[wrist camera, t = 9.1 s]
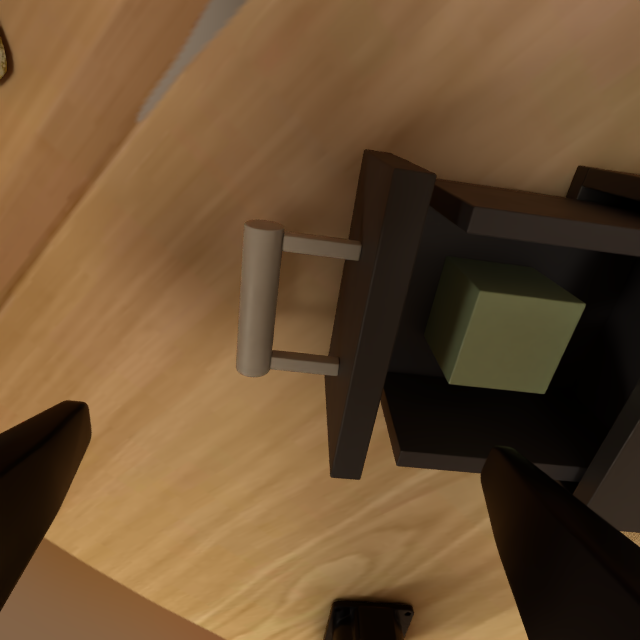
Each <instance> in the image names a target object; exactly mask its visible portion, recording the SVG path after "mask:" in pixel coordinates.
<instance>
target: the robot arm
mask: <svg viewBox="0 0 640 640" xmlns="http://www.w3.org/2000/svg"><path fill="white" fill-rule="evenodd" d="M91 433H92V432H91V423H90V414H89V408H88V405H87V404H86V403H85V402H80V401H71V400H66V401H63V402H61V403H59V404H57V405H55V406H53V407H51V408H49V409H47V410H45V411H43V412H42V413H40V414H38V415H36V416H34V417H32V418H30V419H28V420H26V421H24V422H22V423H20V424H18V425H16V426H14V427H12V428H10V429H9V430H7V431H5V432H3V433H1V434H0V611H1V609H2V608H3V606H4V604H5V603H6V601H7V599H8V597H9V596H10V594H11V592H12V591H13V589H14V587H15V585H16V584H17V582H18V580H19V579H20V577H21V575H22V573H23V572H24V570H25V568H26V567H27V565H28V563H29V561H30V560H31V558H32V556H33V555H34V553H35V551H36V549H37V548H38V546H39V544H40V543H41V541H42V539H43V537H44V536H45V534H46V532H47V531H48V529H49V527H50V525H51V524H52V522H53V520H54V518H55V517H56V515H57V513H58V511H59V509H60V507H61V505H62V503H63V501H64V499H65V496H66V494H67V492H68V490H69V487H70V485H71V483H72V481H73V479H74V476H75V474H76V472H77V470H78V467H79V465H80V463H81V461H82V459H83V456H84V454H85V452H86V450H87V447H88V445H89V443H90V440H91ZM481 484H482V488H483V492H484V497H485V501H486V505H487V509H488V513H489V518H490V522H491V526H492V530H493V534H494V538H495V542H496V545H497V549H498V552H499V555H500V558H501V561H502V564H503V567H504V570H505V573H506V575H507V578H508V581H509V584H510V587H511V590H512V593H513V596H514V599H515V601H516V604H517V607H518V610H519V613H520V616H521V619H522V622H523V624H524V627H525V630H526V633H527V636H528V639H529V640H640V547H639V546H638V545H636V544H635V543H634V542H632V541H631V540H630V539H629V538H627V537H626V536H625V535H624V534H622V533H621V532H620V531H618V530H617V529H616V528H615V527H613V526H612V525H611V524H610V523H608V522H607V521H606V520H604V519H603V518H602V517H601V516H599V515H598V514H597V513H596V512H594V511H593V510H592V509H590V508H589V507H588V506H587V505H585V504H584V503H583V502H581V501H580V500H579V499H578V498H576V497H575V496H574V495H573V494H571V493H570V492H569V491H567V490H566V489H565V488H564V487H562V486H561V485H560V484H559V483H557V482H556V481H555V480H553V479H552V478H551V477H550V476H548V475H547V474H546V473H545V472H543V471H542V470H541V469H539V468H538V467H537V466H536V465H534V464H533V463H532V462H530V461H529V460H528V459H527V458H525V457H524V456H523V455H522V454H520V453H519V452H518V451H516V450H515V449H514V448H512V447H507V446H494V447H493V448H492V449H491V450H490V453H489V455H488V457H487V459H486V461H485V464H484V466H483V468H482V471H481ZM413 615H414V611H413V607H412V606H410V605H400V604H383V603H366V602H350V601H335V602H334V603H333V604H332V607H331V611H330V615H329V619H328V623H327V626H326V630H325V634H324V638H323V640H404V637H405V634H406V632H407V630H408V627H409V625H410V622H411V620H412V617H413Z"/></svg>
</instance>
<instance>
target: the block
mask: <svg viewBox="0 0 640 640" xmlns="http://www.w3.org/2000/svg"><path fill="white" fill-rule="evenodd" d="M585 307H586V304H585V303H584V302H582V301H581V300H579V299H578V298H576V297H575V296H574V295H572V294H571V293H569V292H568V291H566V290H565V289H563V288H562V287H560V286H559V285H557V284H556V283H555V282H553V281H552V280H550V279H549V278H547V277H546V276H544V275H543V274H541V273H540V272H538V271H537V270H535V269H534V268H532V267H525V266H518V265H510V264H503V263H495V262H487V261H480V260H472V259H465V258H457V257H450V256H447V257H446V259H445V263H444V266H443V270H442V273H441V277H440V280H439V284H438V287H437V291H436V294H435V298H434V301H433V305H432V308H431V312H430V315H429V319H428V322H427V326H426V329H425V333H424V337H425V339H426V341H427V343H428V345H429V347H430V349H431V351H432V352H433V354H434V356H435V358H436V360H437V362H438V364H439V366H440V368H441V370H442V372H443V374H444V376H445V378H446V380H447V381H448V383H449V384H454V385H463V386H472V387H482V388H491V389H501V390H510V391H520V392H529V393H538V394H545V392H546V390H547V388H548V386H549V384H550V381H551V379H552V377H553V375H554V373H555V371H556V369H557V366H558V364H559V362H560V360H561V358H562V356H563V354H564V351H565V349H566V347H567V345H568V343H569V341H570V339H571V337H572V334H573V332H574V330H575V328H576V326H577V324H578V322H579V319H580V317H581V315H582V313H583V311H584V309H585Z"/></svg>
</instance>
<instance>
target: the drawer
mask: <svg viewBox="0 0 640 640" xmlns="http://www.w3.org/2000/svg"><path fill="white" fill-rule="evenodd" d="M282 251H285V252H293V253H301V254H309V255H317V256H324V257H332V258H340V259H345V263H344V269H343V275H342V280H341V286H340V292H339V298H338V303H337V309H336V315H335V321H334V327H333V332H332V338H331V344H330V350H329V355H328V356H323V355H313V354H304V353H295V352H286V351H277V350H273V351H272V345H273V335H274V325H275V315H276V306H277V296H278V286H279V276H280V266H281V256H282ZM447 256H450V257H457V258H465V259H472V260H480V261H487V262H495V263H503V264H510V265H518V266H525V267H532V268H534V269H535V270H537V271H538V272H540V273H541V274H543V275H544V276H546V277H547V278H549V279H550V280H552V281H553V282H555V283H556V284H557V285H559V286H560V287H562V288H563V289H565V290H566V291H568V292H569V293H571V294H572V295H574V296H575V297H576V298H578V299H579V300H581V301H582V302H584V303H585V304H586V307H585V309H584V311H583V313H582V315H581V317H580V319H579V322H578V324H577V326H576V328H575V330H574V332H573V334H572V337H571V339H570V341H569V343H568V345H567V347H566V349H565V351H564V354H563V356H562V358H561V360H560V362H559V364H558V366H557V369H556V371H555V373H554V375H553V377H552V379H551V381H550V384H549V386H548V388H547V390H546V392H545V394H538V393H529V392H520V391H510V390H501V389H491V388H482V387H472V386H463V385H454V384H449V383H448V381H447V380H446V378H445V376H444V374H443V372H442V370H441V368H440V366H439V364H438V362H437V360H436V358H435V356H434V354H433V352H432V351H431V349H430V347H429V345H428V343H427V341H426V339H425V337H424V333H425V329H426V326H427V322H428V319H429V315H430V312H431V308H432V305H433V301H434V298H435V294H436V291H437V287H438V284H439V280H440V277H441V273H442V270H443V266H444V263H445V259H446V257H447ZM236 369H237V371H238V372H239V373H240V374H242V375H244V376H248V377H260V376H263V375H265V374H267V373H268V372H269V370H270V369H274V370H284V371H293V372H303V373H312V374H322V375H325V391H326V409H327V427H328V445H329V463H330V476H331V477H332V478H343V479H355V480H360V478H361V475H362V471H363V467H364V463H365V459H366V455H367V451H368V447H369V443H370V439H371V435H372V431H373V427H374V423H375V419H376V415H377V411H378V407H379V403H380V401H381V405H382V409H383V413H384V417H385V421H386V425H387V429H388V433H389V437H390V441H391V445H392V449H393V453H394V457H395V461H396V465H397V466H402V467H414V468H425V469H436V470H448V471H459V472H471V473H481V471H482V468H483V466H484V464H485V461H486V459H487V457H488V455H489V453H490V450H491V449H492V448H493V447H494V446H507V447H512V448H514V449H515V450H516V451H518V452H519V453H520V454H522V455H523V456H524V457H525V458H527V459H528V460H529V461H530V462H532V463H533V464H534V465H536V466H537V467H538V468H539V469H541V470H542V471H543V472H545V473H546V474H547V475H548V476H550V477H551V478H552V479H553V480H562V481H573V482H580V481H581V479H582V477H583V476H584V474H585V472H586V470H587V469H588V467H589V465H590V463H591V462H592V460H593V458H594V457H595V455H596V453H597V451H598V450H599V448H600V446H601V444H602V443H603V441H604V439H605V438H606V436H607V434H608V432H609V431H610V429H611V427H612V425H613V424H614V422H615V420H616V419H617V417H618V415H619V413H620V412H621V410H622V408H623V407H624V405H625V403H626V401H627V400H628V398H629V396H630V394H631V393H632V391H633V389H634V388H635V386H636V384H637V382H638V381H639V379H640V209H639V208H632V207H625V206H618V205H612V204H605V203H598V202H591V201H584V200H577V199H571V198H564V197H557V196H550V195H543V194H537V193H530V192H523V191H516V190H509V189H502V188H496V187H489V186H482V185H475V184H468V183H462V182H455V181H448V180H441V179H436V174H435V173H433V172H430V171H428V170H426V169H424V168H422V167H420V166H417V165H415V164H413V163H411V162H409V161H407V160H404V159H402V158H400V157H398V156H396V155H394V154H392V153H386V152H380V151H373V150H367V149H366V150H364V153H363V159H362V165H361V170H360V176H359V182H358V188H357V194H356V199H355V205H354V211H353V217H352V223H351V228H350V234H349V240H347V239H340V238H332V237H325V236H317V235H310V234H302V233H294V232H287V231H286V232H284V226H283V225H281V224H279V223H276V222H273V221H267V220H249V221H246V222H245V223H244V236H243V253H242V271H241V288H240V305H239V323H238V340H237V357H236Z"/></svg>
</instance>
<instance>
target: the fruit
mask: <svg viewBox="0 0 640 640" xmlns="http://www.w3.org/2000/svg"><path fill="white" fill-rule="evenodd" d="M5 73H7V62H6V55H5V50H4V46H3V43H2V39H1V36H0V79H1V78H2V77H3V75H4V74H5Z"/></svg>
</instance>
